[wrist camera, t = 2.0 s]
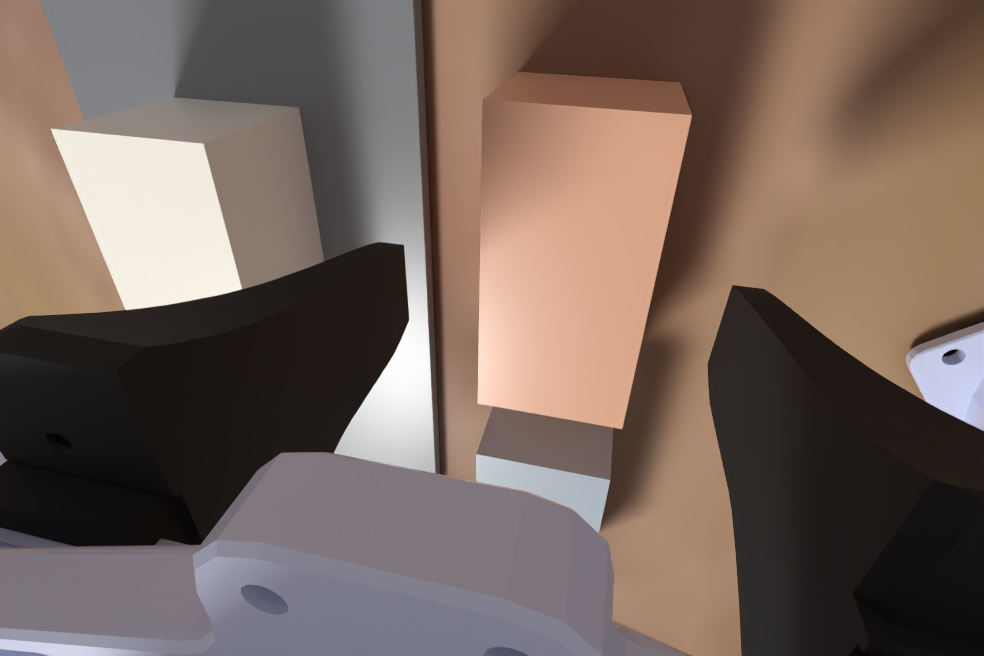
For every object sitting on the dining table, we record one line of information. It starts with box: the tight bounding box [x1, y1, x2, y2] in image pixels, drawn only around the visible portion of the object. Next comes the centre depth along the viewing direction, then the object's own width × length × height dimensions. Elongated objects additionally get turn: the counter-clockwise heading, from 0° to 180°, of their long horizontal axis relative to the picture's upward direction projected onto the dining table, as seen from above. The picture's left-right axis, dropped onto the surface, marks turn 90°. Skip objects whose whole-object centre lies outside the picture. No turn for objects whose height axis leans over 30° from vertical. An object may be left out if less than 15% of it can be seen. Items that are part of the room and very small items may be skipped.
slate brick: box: [476, 406, 613, 533], centre depth 20 cm, size 8×4×4 cm, turn 179°
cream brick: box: [51, 97, 324, 310], centre depth 16 cm, size 8×4×4 cm, turn 179°
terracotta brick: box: [478, 72, 692, 429], centre depth 14 cm, size 8×4×4 cm, turn 179°
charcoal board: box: [40, 0, 440, 474], centre depth 18 cm, size 22×11×1 cm, turn 179°
